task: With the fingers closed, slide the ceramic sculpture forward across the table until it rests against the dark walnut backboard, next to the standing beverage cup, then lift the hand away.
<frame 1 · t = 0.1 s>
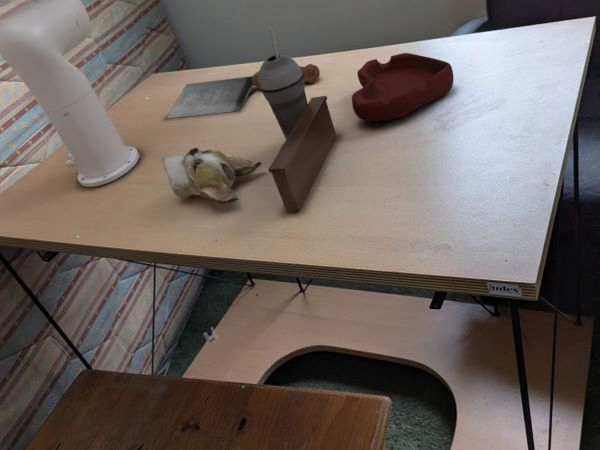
ceramic sculpture: (216, 193, 90), on the table
beverage cup: (302, 143, 95), on the table
backboard: (313, 171, 86), on the table
ashtray: (406, 100, 96), on the table
meat cleaver: (242, 99, 118), on the table
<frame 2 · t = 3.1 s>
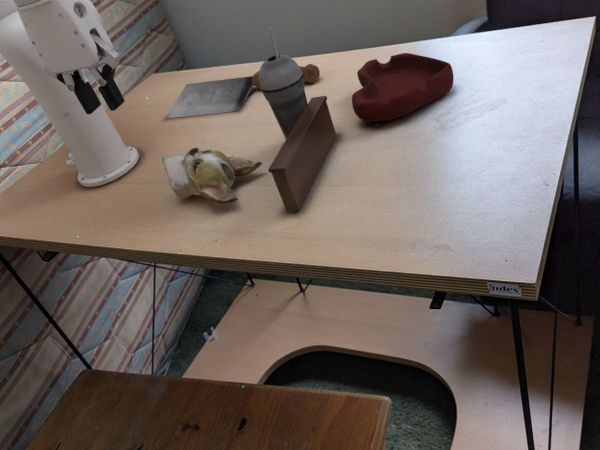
hand: (105, 106, 86), 17 cm above the table, tool pointing down, fingers open, 4 cm apart
nothing on the table moved.
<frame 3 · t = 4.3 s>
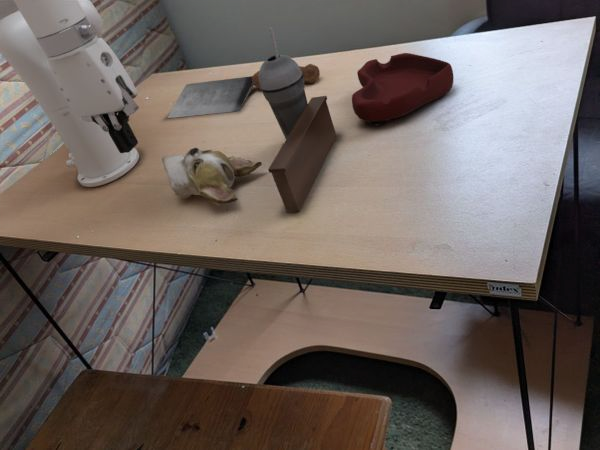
hand: (129, 148, 90), 10 cm above the table, tool pointing down, fingers closed
nothing on the table moved.
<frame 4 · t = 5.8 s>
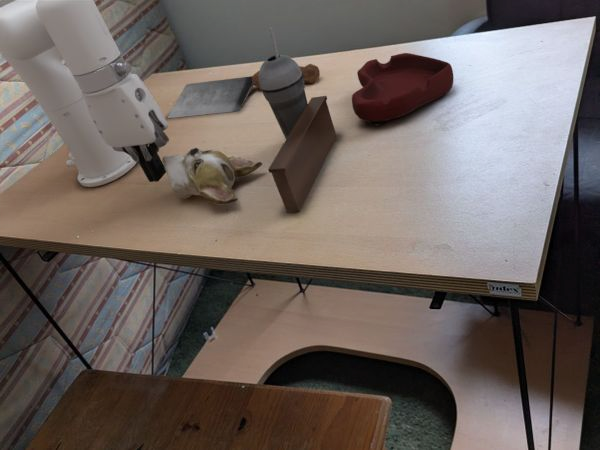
hand: (158, 176, 92), 4 cm above the table, tool pointing down, fingers closed
ceramic sculpture: (217, 193, 90), on the table, touching gripper
everything else where it was.
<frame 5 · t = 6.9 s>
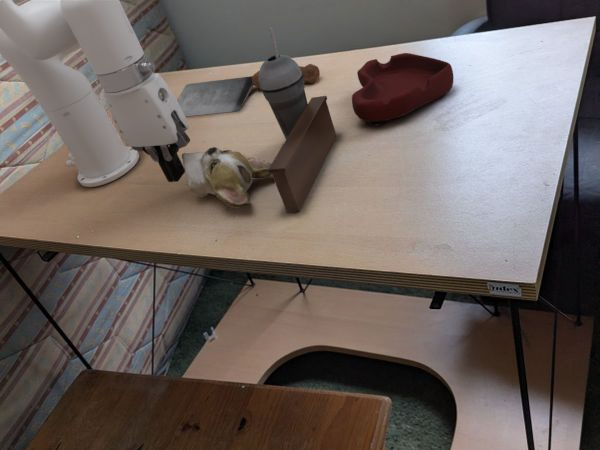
hand: (177, 176, 91), 3 cm above the table, tool pointing down, fingers closed
ceramic sculpture: (234, 193, 89), on the table, touching gripper
everything else where it was.
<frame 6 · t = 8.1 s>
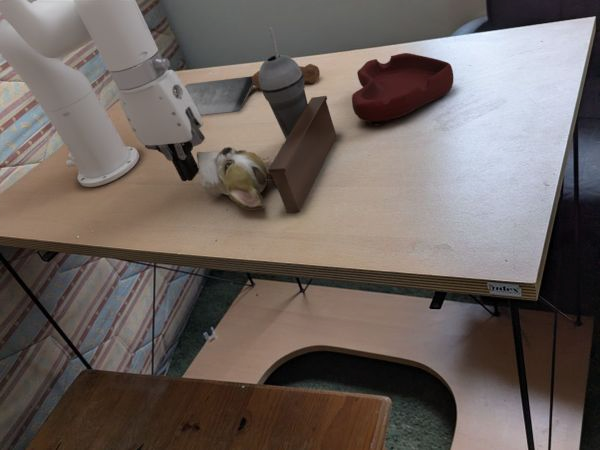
hand: (191, 175, 90), 3 cm above the table, tool pointing down, fingers closed
ceramic sculpture: (248, 194, 87), on the table, touching gripper
everything else where it was.
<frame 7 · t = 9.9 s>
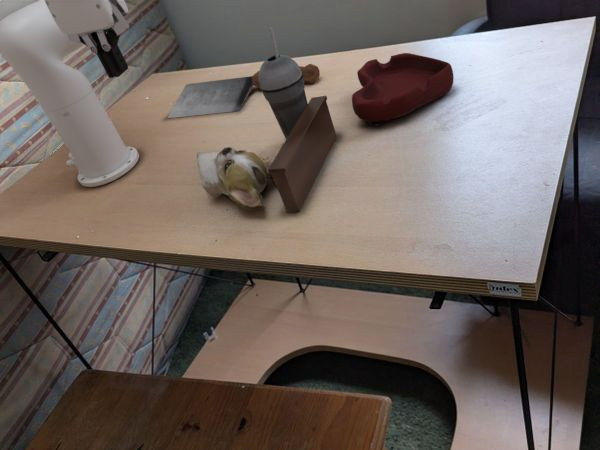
hand: (119, 73, 85), 21 cm above the table, tool pointing down, fingers closed
ceramic sculpture: (248, 194, 87), on the table
everything else where it was.
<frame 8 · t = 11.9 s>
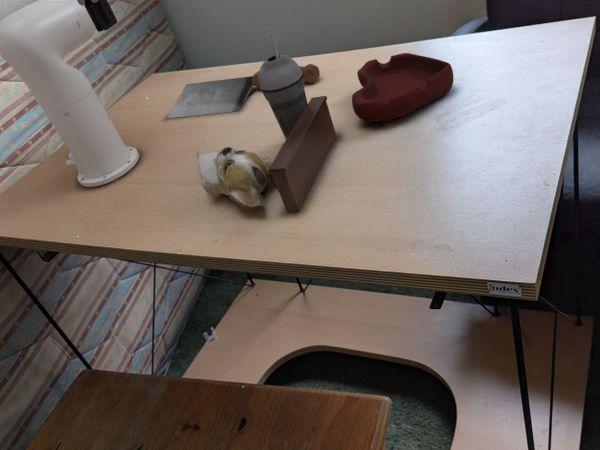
hand: (108, 27, 83), 27 cm above the table, tool pointing down, fingers closed
nothing on the table moved.
at the end: ceramic sculpture 1.2 cm from the target spot, on the table; ceramic sculpture 14.6 cm from the beverage cup (horizontally); beverage cup moved 0.2 cm from its start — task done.
